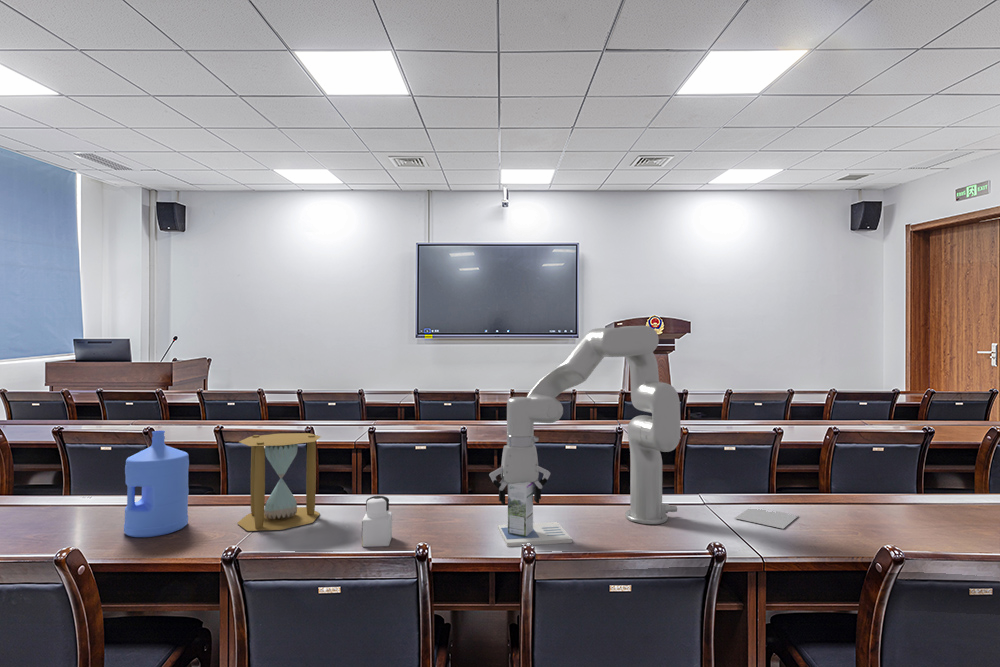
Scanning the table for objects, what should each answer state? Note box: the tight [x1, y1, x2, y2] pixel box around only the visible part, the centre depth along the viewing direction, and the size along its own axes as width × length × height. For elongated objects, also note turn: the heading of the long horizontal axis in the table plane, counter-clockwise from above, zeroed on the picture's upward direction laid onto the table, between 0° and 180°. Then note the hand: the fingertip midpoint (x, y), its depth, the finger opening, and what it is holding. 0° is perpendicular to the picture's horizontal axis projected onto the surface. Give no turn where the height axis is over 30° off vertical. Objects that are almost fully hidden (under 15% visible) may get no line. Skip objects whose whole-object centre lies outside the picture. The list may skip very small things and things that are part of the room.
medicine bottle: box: [361, 495, 393, 548], centre depth 146 cm, size 7×7×12 cm
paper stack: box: [734, 508, 799, 529], centre depth 162 cm, size 23×25×1 cm
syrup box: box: [507, 482, 534, 536], centre depth 151 cm, size 6×6×14 cm
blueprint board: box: [497, 521, 573, 548], centre depth 152 cm, size 18×14×1 cm
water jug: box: [123, 430, 190, 538], centre depth 156 cm, size 16×16×28 cm
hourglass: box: [237, 432, 322, 532], centre depth 165 cm, size 24×22×25 cm
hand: (519, 502), depth 151 cm, fingers open, 9 cm apart
